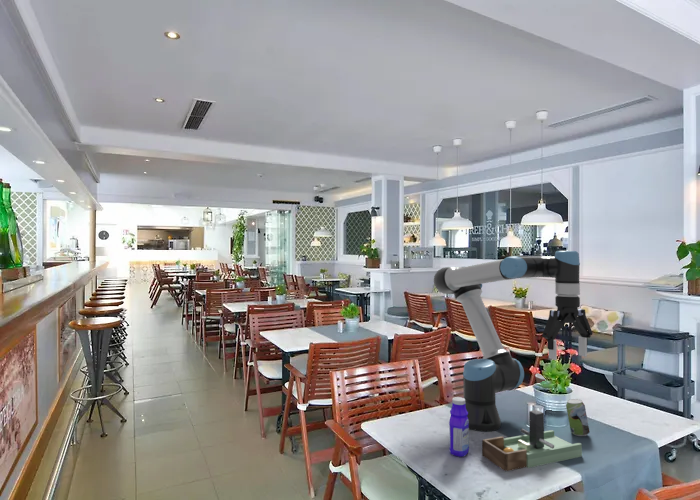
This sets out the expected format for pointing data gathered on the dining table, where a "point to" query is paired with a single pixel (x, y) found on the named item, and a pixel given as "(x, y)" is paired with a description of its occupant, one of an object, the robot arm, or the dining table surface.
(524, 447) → the kicker
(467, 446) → the bottle
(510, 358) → the robot arm
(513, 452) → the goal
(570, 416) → the beverage can
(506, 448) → the ball
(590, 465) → the dining table surface
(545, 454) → the pitch
